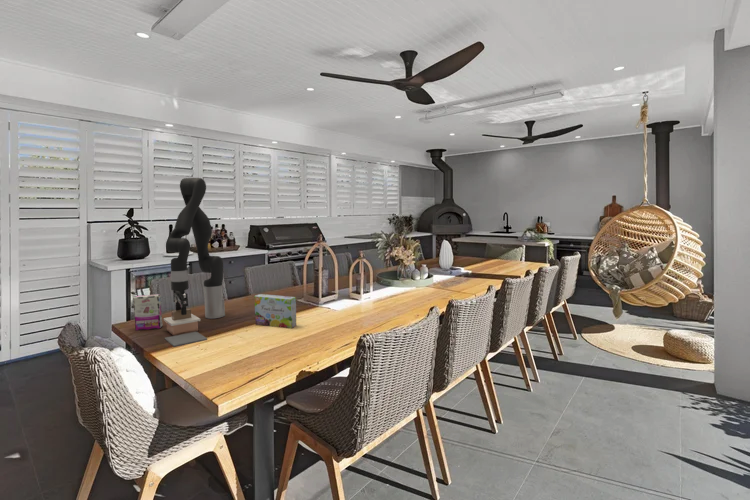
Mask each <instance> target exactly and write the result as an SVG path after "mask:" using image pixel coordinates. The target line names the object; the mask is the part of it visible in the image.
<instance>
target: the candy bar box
mask: <svg viewBox="0 0 750 500" xmlns="http://www.w3.org/2000/svg"><path fill="white" fill-rule="evenodd" d="M161 298H162V297H161V294H160V293H159V294H144V295H143V294H142V295H135V296H133V298H132V299H133V301H132V302H133V313H134V315H133V316H134V326H135V331H147V330H148V331H149V330H160V329H161V328H162V327H163V315H162V312H163V311H162V300H161Z"/></svg>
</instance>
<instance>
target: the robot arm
mask: <svg viewBox="0 0 750 500" xmlns="http://www.w3.org/2000/svg"><path fill="white" fill-rule="evenodd" d="M179 189H180V193H181V196H182V199H183V202H184V204H185V206H184V208H183V209H182V210H181V211H180V212H179V213H178V215H177V218H176V222H175V225H174V228H173V230H172V232H171V233H169V236H168V238H167V239H166V242H165V248H166V251H167V252H169V253H173V254H178V256H177V257H174V258H172V259H170V287H171V288H170V289H171V291H172V292H173V293H172V295H173V303H174V304H175V311H176V310H181V315H186V314H187V311H186V309H187V307H188V306H189V297H188V293H187V292H186V291H187V290H189V287H190V285H189V272H188V258H189V256H190V250H191V243H190V241H189V239H188V238H185V236H189V234H190V233H191V231H192V234H193V237H194V242H195V246H196V251H197V252H196V253H197V259H198V265H199V269H200V271H201V272H203V273H205V274H206V273H207V274H210V278H207V279H205V280H204V281H203V293H204V295H203V296H204V298H203V299H204V315H205V316H204V317H205V319H210V320H211V319H220V318H223V317H226V312H225V311H226V310H225V307H226V306H225V298H223V297H224V295H223V280H224V261H223V259H222V257H221V256H218V255H210V253H209V242H210V240H211V238H212V236H213V235H212V233H213V230H212V225H211V221H210V219H209V217H208V215H207V214H206V213H205V212H204V211H203V210H202V208H200V205H201V203H202V200H203V199H204V196H205V194H206V191H207V183H206V181H205V180H204V179H203V178H201V177H185V178H182V179H181V180H180V182H179Z"/></svg>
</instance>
